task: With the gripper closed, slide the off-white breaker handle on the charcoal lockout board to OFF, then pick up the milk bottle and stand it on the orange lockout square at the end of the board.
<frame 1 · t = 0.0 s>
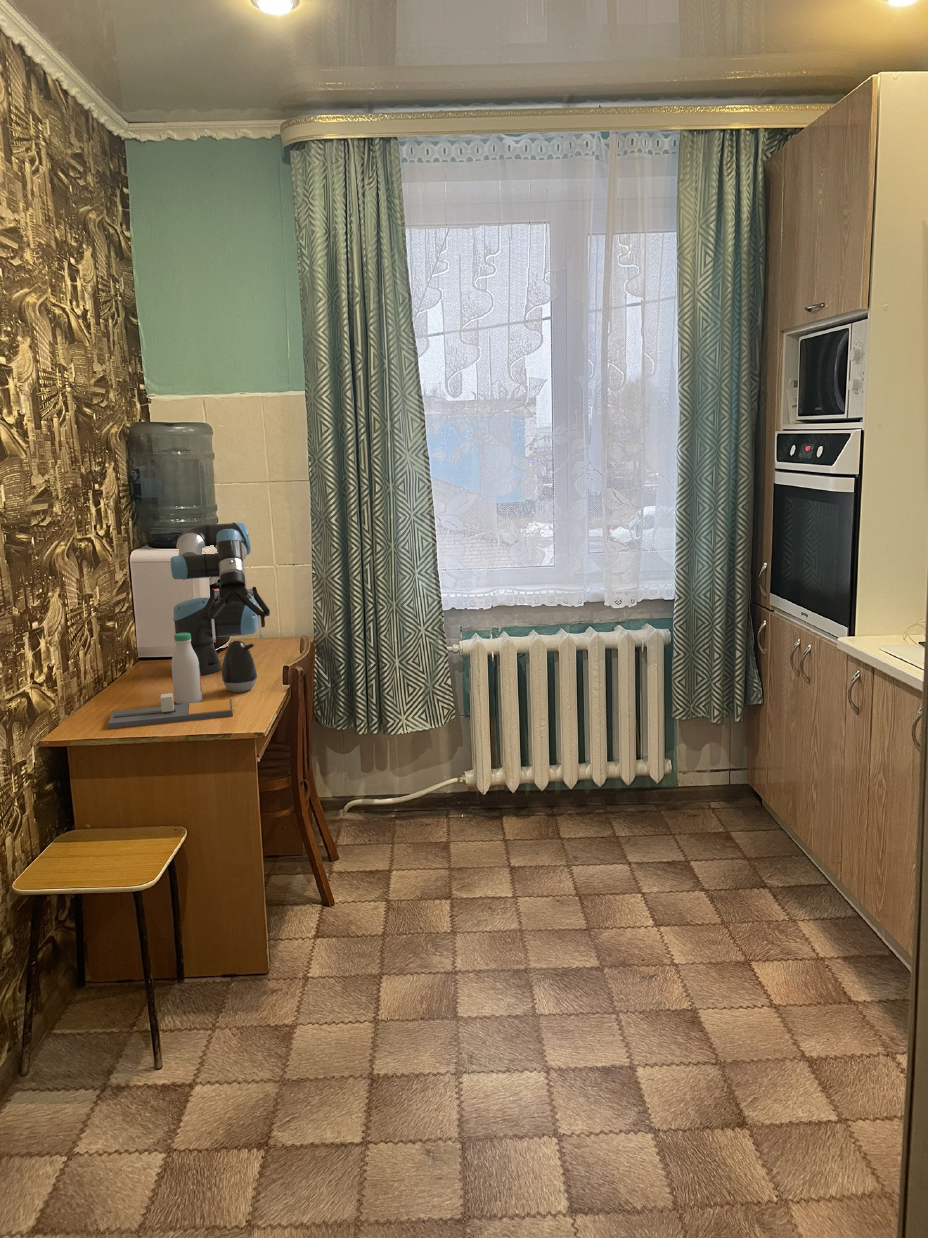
hand: (237, 638, 290), 15 cm above the table, tool tilted 35°, fingers open, 13 cm apart
milk bottle: (188, 702, 280), on the table
breaker handle: (167, 702, 265), point 4 cm above the table, slide at 0.0 cm
lockout board: (172, 716, 266), on the table
pump dispenser: (241, 690, 291), on the table
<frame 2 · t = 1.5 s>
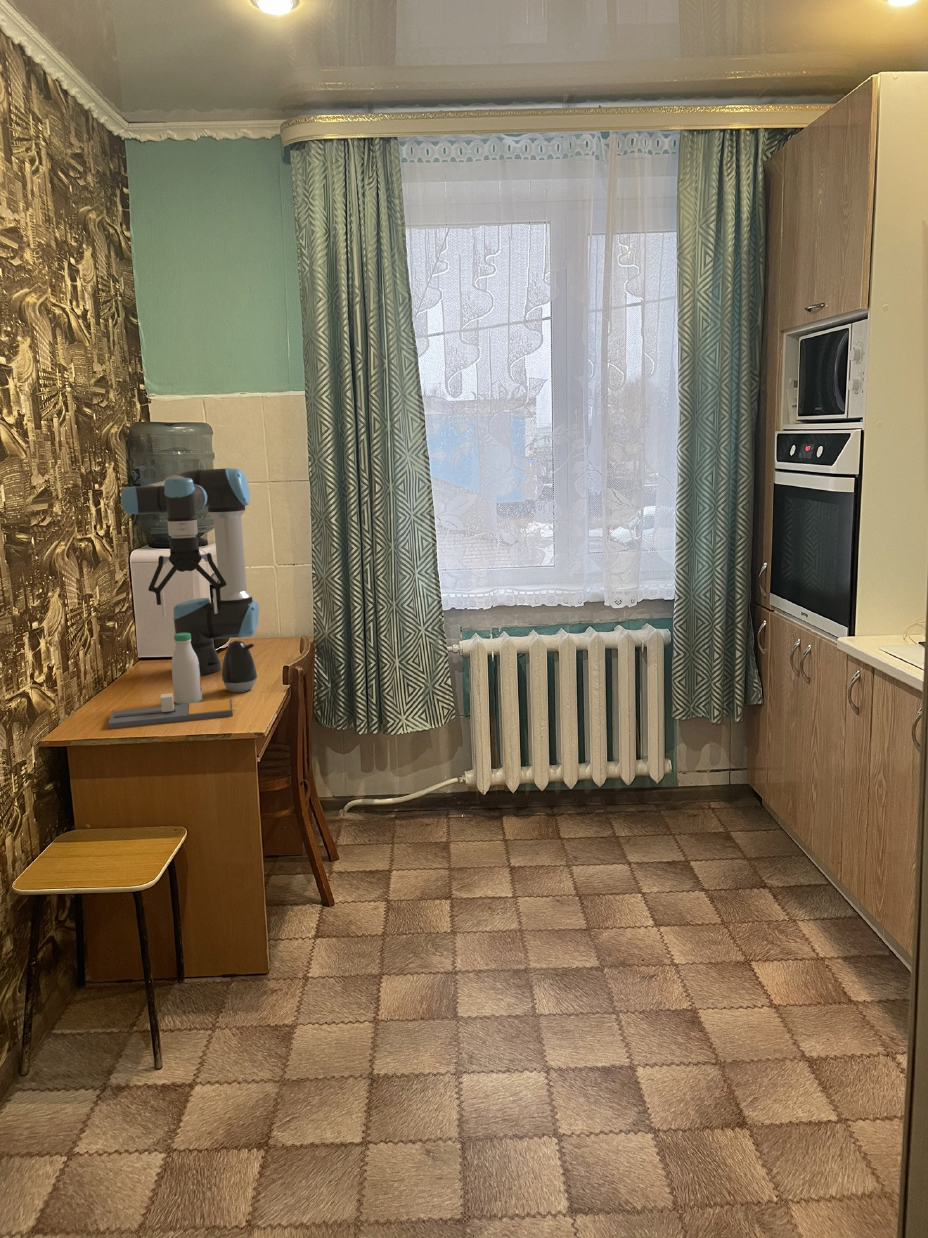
hand: (190, 614, 263), 28 cm above the table, tool pointing down, fingers open, 13 cm apart
nothing on the table moved.
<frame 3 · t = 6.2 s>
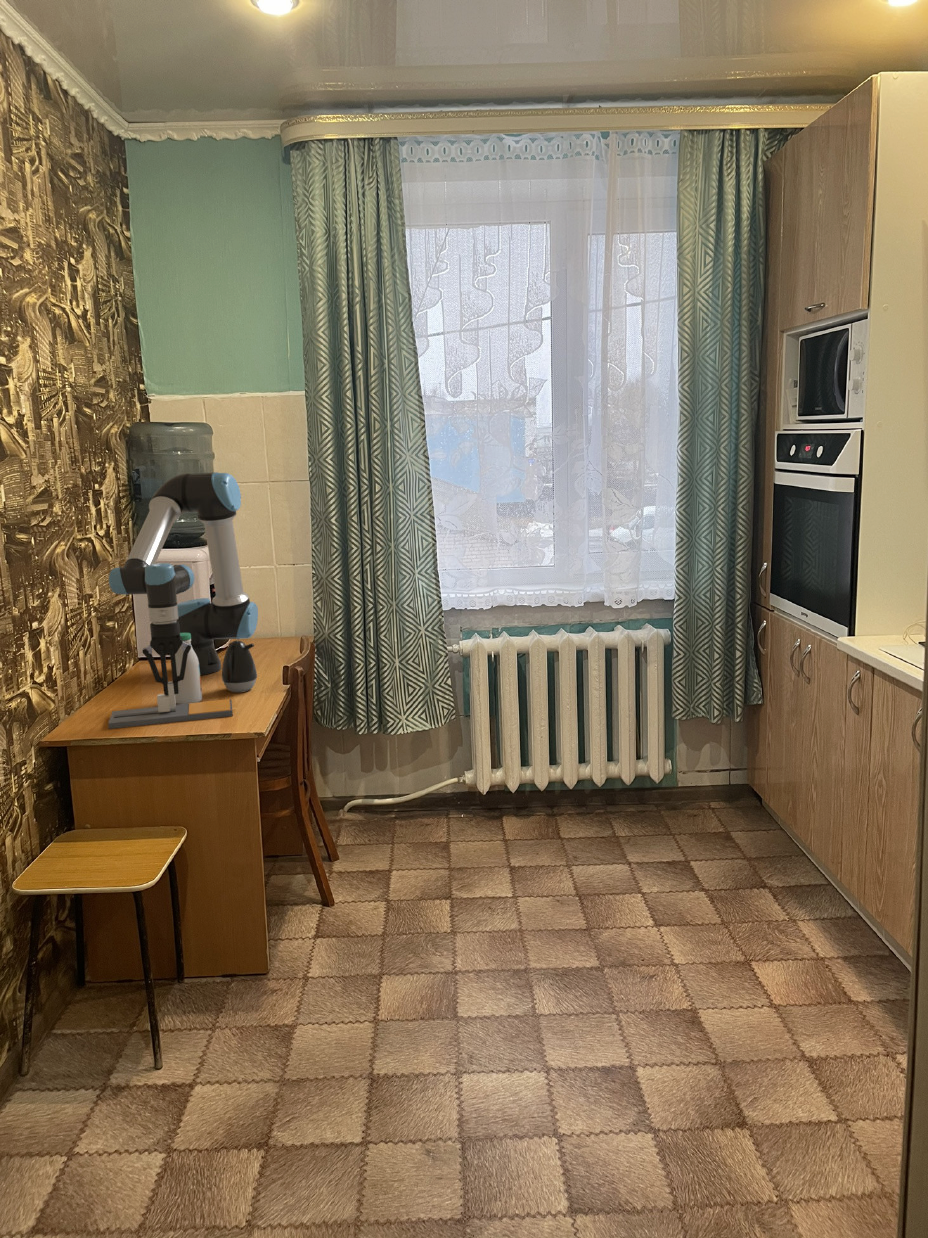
hand: (172, 705, 265), 3 cm above the table, tool pointing down, fingers closed
breaker handle: (163, 702, 265), point 4 cm above the table, slide at 0.9 cm, touching gripper
everything else where it was.
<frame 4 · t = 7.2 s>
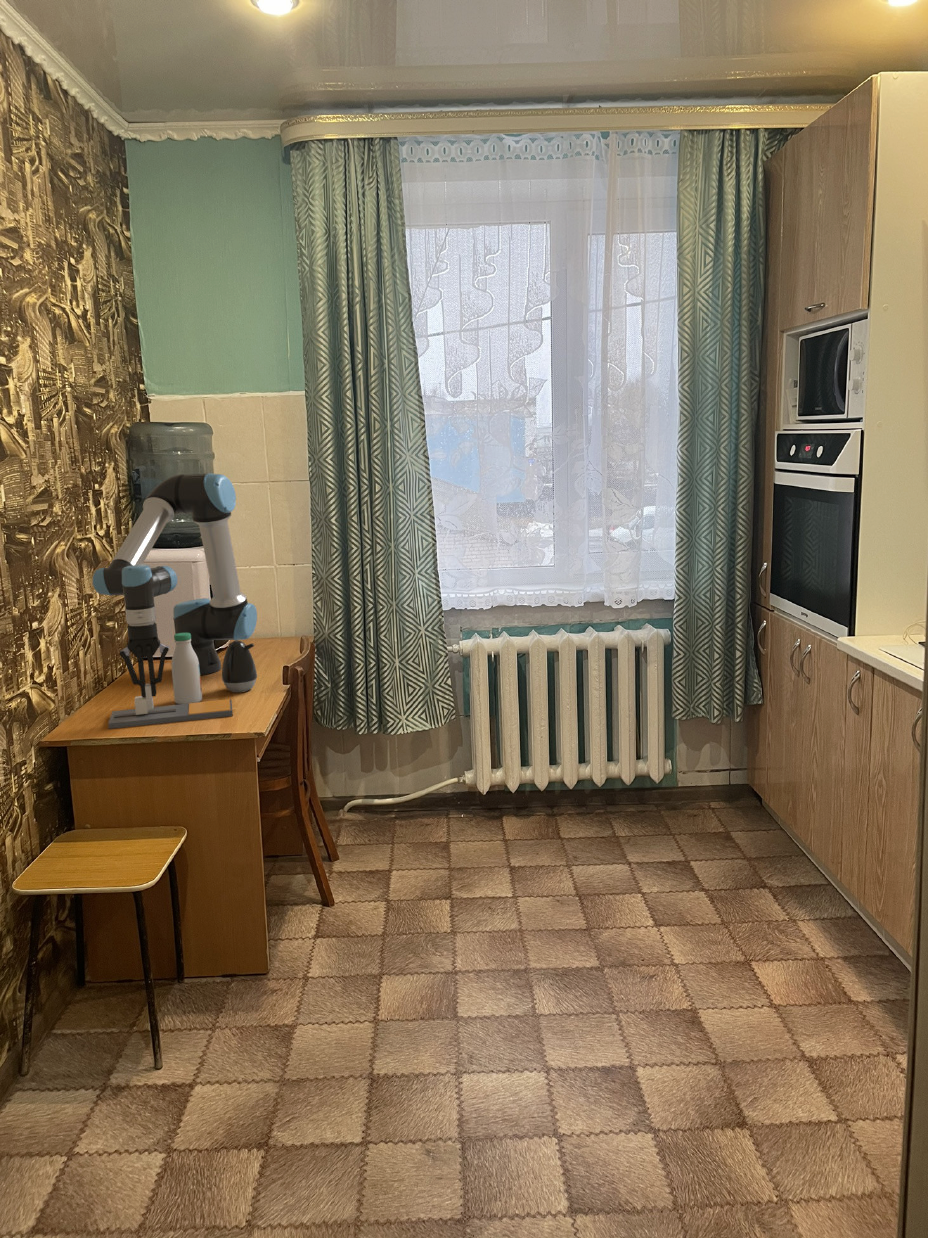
hand: (150, 708, 264), 3 cm above the table, tool pointing down, fingers closed
breaker handle: (141, 705, 263), point 4 cm above the table, slide at 6.8 cm, touching gripper
everything else where it was.
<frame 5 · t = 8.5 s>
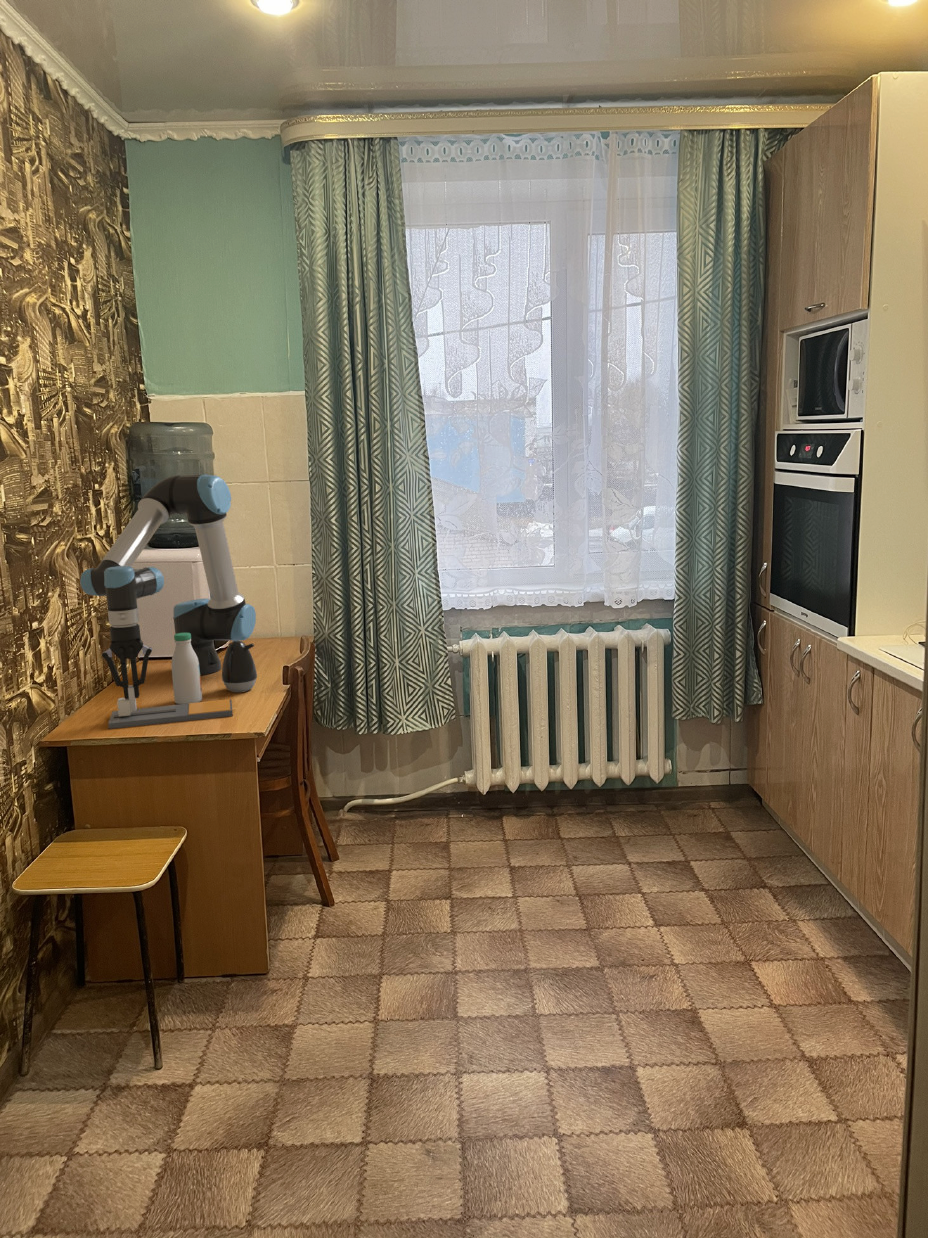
hand: (133, 709, 263), 3 cm above the table, tool pointing down, fingers closed
breaker handle: (124, 706, 262), point 4 cm above the table, slide at 11.1 cm, touching gripper
everything else where it was.
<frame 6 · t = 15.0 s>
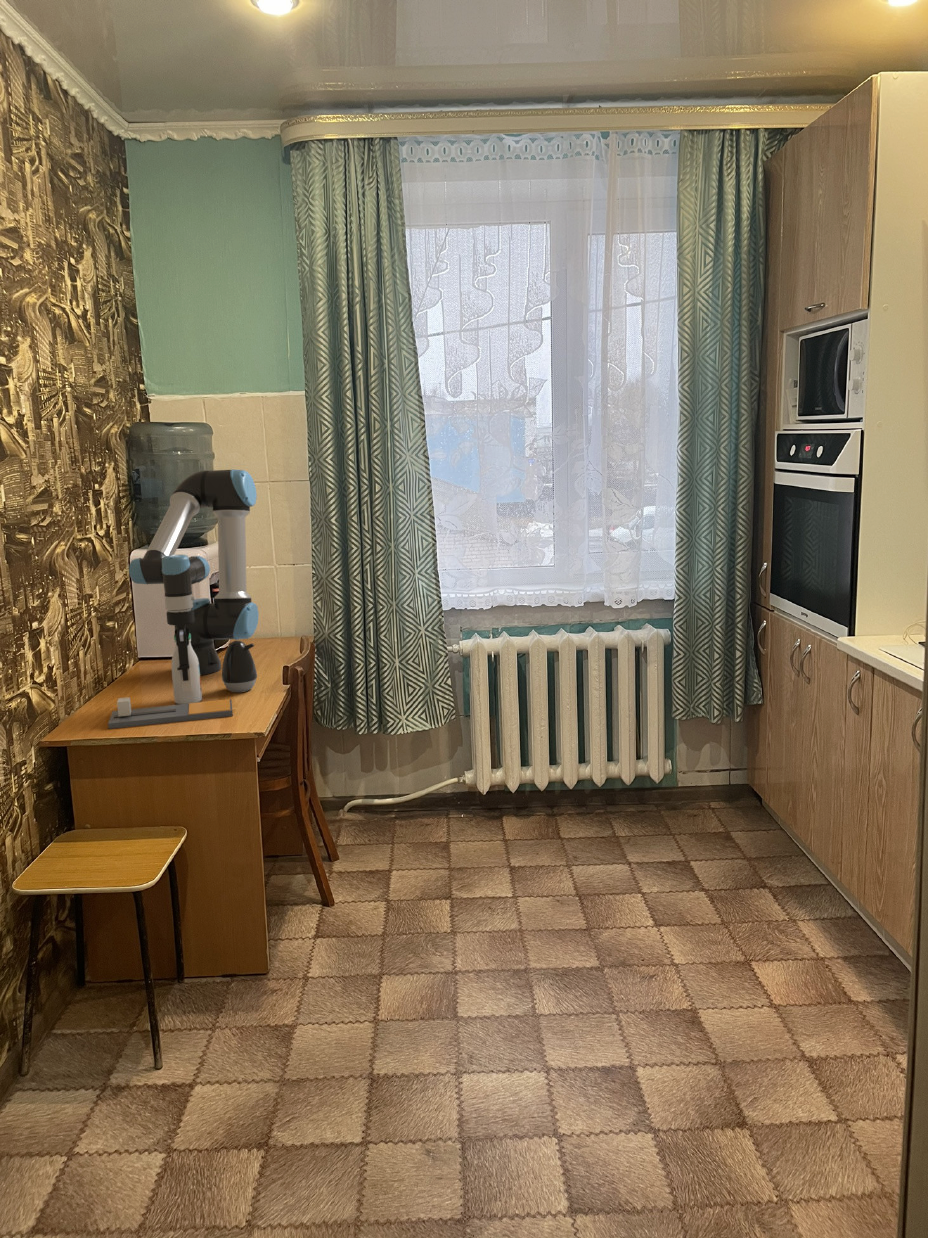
hand: (187, 687, 279), 4 cm above the table, tool pointing down, fingers closed on milk bottle, 8 cm apart
milk bottle: (188, 702, 280), on the table, touching gripper
breaker handle: (124, 706, 262), point 4 cm above the table, slide at 11.2 cm
everything else where it was.
when the fingers open (8 cm above the table, at t = 22.6 s): milk bottle drops 2 cm, resting on lockout board.
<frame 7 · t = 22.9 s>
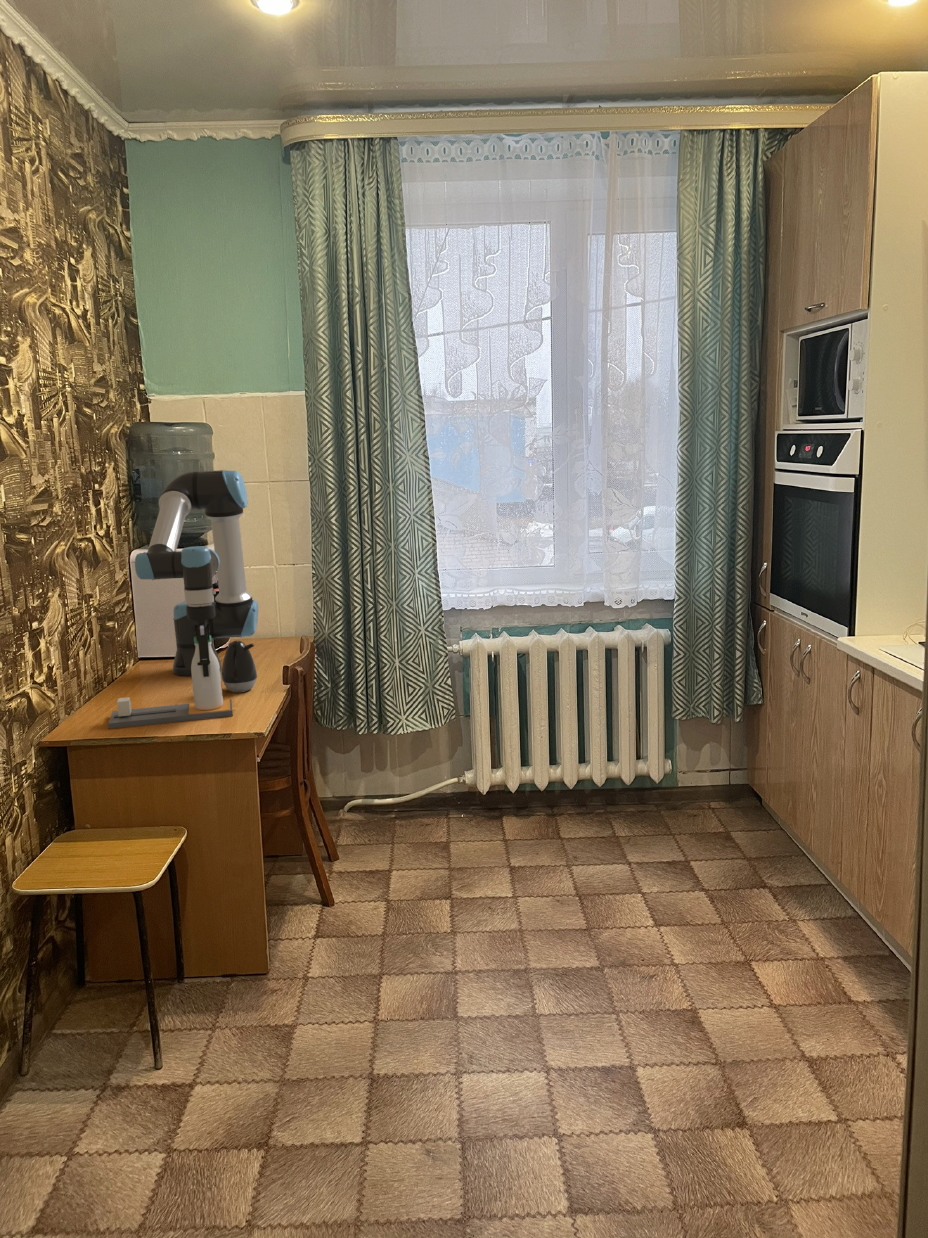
hand: (207, 682, 267), 8 cm above the table, tool pointing down, fingers open, 11 cm apart
milk bottle: (209, 707, 268), point 2 cm above the table, touching lockout board
everything else where it was.
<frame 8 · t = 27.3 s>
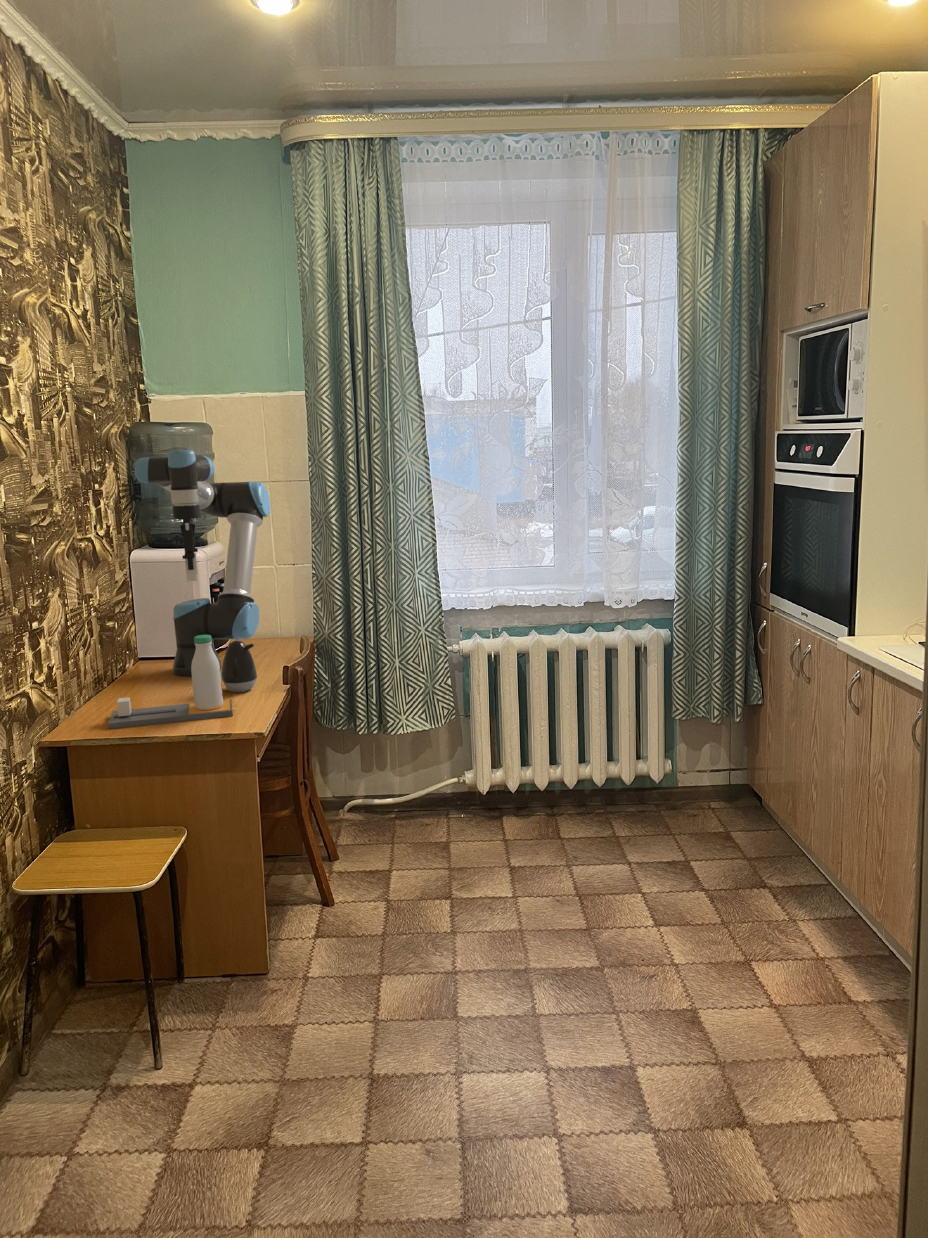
hand: (192, 577, 282), 35 cm above the table, tool pointing down, fingers open, 13 cm apart
nothing on the table moved.
at the end: breaker handle slide at 11.2 cm; milk bottle inside the target area on the lockout board (0.4 cm from its centre), point 1.5 cm above the lockout board's base; milk bottle tilted 0° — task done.
